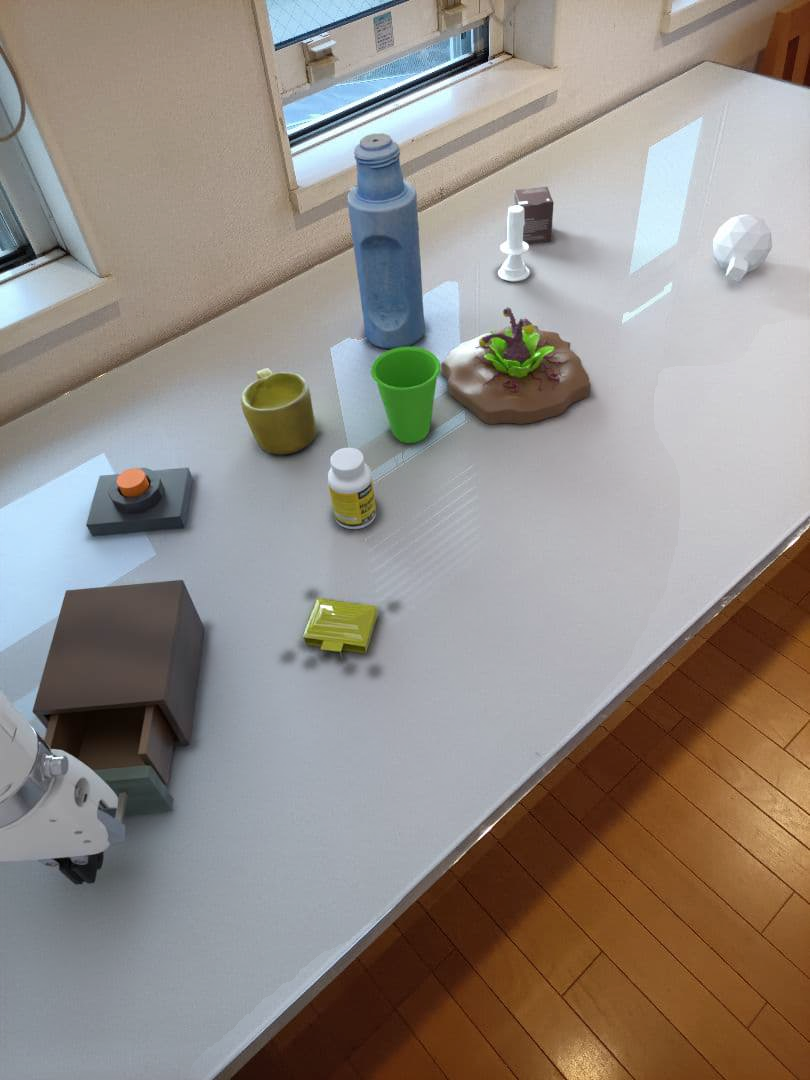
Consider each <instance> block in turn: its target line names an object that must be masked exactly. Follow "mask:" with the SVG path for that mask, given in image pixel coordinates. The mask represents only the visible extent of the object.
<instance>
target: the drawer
mask: <svg viewBox="0 0 810 1080" xmlns="http://www.w3.org/2000/svg"><path fill="white" fill-rule="evenodd" d="M174 737H175V732H174V730H173V728H172V727H171V725H170V723H169V722H168V720H167V718H166V717H165V715H164V713H163V712H162V710H161V708H160V707H159V705H147V706H136V707H125V708H114V709H102V710H91V711H80V712H69V713H58V714H51V716H50V720H49V724H48V728H47V729H46V732H45V736H44V739H43V740H44V741H45V743H46V744H47V745H48V746H49V747H50V749H56V750H62V751H64V752H66V753H68V754H70V755H72V756H73V757H75V758H77V759H78V760H80V761H81V762H83V763H84V764H85V765H86V766H88V767H89V768H90V769H91V770H93V771H94V772H95V773H96V774H97V775H98V776H99V777H100V778H101V779H102V780H103V781H104V782H105V783H106V784H107V785H108V786H109V787H110V788H111V789H112V790H113V791H114V793H115V794H116V795H117V797H118V807H117V808H114V809H103V811H104V812H106V813H107V814H109V815H110V816H112V817H114V818H115V819H117V820H118V821H120V822H121V823H123V824H124V818H125V815H126V816H128V815H139V814H148V813H161V812H172V811H173V806H174V798H173V796H172V794H171V793H170V792H169V790H168V789H167V787H166V786H168V784H169V778H170V771H171V764H172V757H173V749H174V746H173V744H174Z"/></svg>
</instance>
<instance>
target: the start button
mask: <svg viewBox="0 0 810 1080" xmlns="http://www.w3.org/2000/svg"><path fill="white" fill-rule="evenodd" d="M138 468H139V467H137V468H136V467H131V468H128V469H126V470H124V471H122V472H121V473H119V474H120V475H119V476H118V478H117V484H118V487H119V489H120V491H121V493H122V494H123V495H124V496H126V497H137V496H139V495H141V494H143V493H144V492H145V491H146V490H147V489H148V488H149V482H148V480H147V477H146V475H145V473H144V471H143V470H141V469H138Z"/></svg>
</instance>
